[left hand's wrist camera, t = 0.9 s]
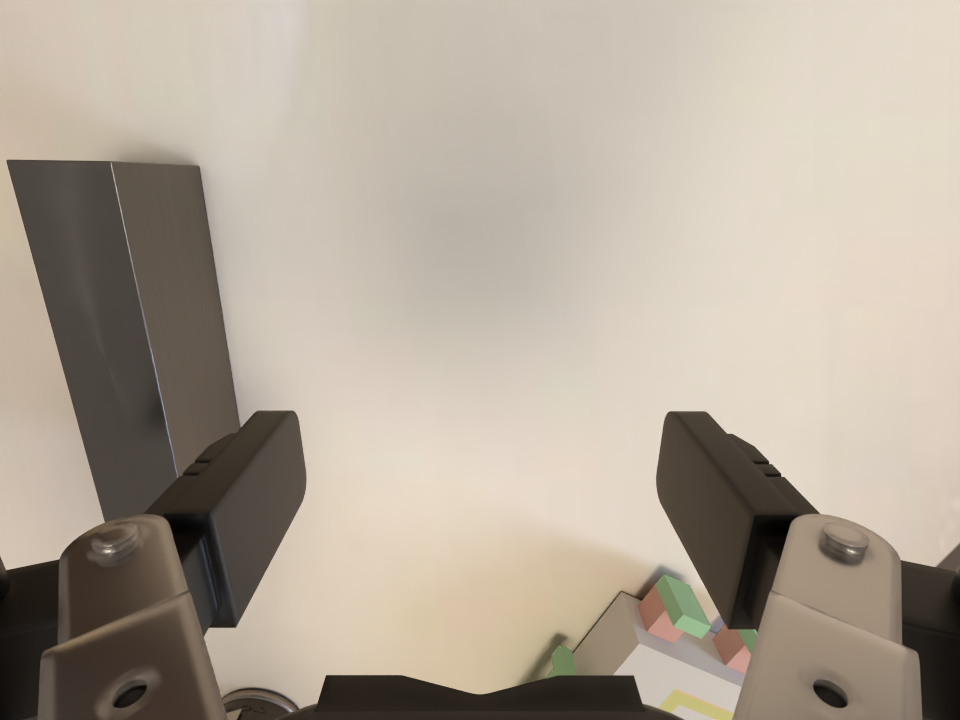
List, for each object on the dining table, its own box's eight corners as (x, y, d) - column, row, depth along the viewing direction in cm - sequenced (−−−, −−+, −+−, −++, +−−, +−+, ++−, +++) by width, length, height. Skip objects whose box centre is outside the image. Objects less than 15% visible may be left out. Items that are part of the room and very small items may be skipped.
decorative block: (663, 853, 51) (488, 792, 48) (644, 782, 57) (487, 723, 54) (836, 688, 44) (642, 602, 41) (793, 626, 50) (621, 547, 47)
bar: (118, 164, 36) (5, 159, 27) (199, 165, 36) (111, 161, 27) (178, 455, 44) (104, 523, 35) (244, 456, 44) (187, 524, 35)
